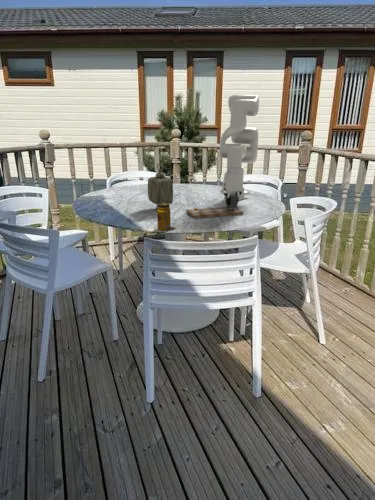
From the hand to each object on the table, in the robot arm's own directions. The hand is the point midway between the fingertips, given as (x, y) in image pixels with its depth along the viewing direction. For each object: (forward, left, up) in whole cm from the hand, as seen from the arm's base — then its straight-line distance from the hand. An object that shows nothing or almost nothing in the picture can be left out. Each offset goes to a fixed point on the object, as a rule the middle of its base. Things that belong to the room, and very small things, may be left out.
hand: (231, 204), depth 193 cm
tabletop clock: (+36, -16, -5) cm, 40 cm away
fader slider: (0, 0, -2) cm, 2 cm away
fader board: (+10, 0, -4) cm, 11 cm away
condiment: (+42, +18, -5) cm, 46 cm away
